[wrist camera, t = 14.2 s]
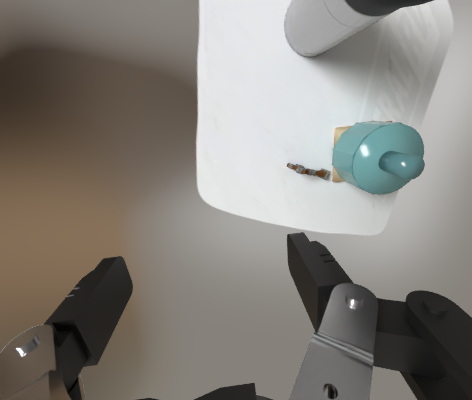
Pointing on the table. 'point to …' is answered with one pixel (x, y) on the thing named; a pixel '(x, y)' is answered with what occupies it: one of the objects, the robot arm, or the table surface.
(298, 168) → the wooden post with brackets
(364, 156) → the teal lid with knob
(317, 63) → the table surface
